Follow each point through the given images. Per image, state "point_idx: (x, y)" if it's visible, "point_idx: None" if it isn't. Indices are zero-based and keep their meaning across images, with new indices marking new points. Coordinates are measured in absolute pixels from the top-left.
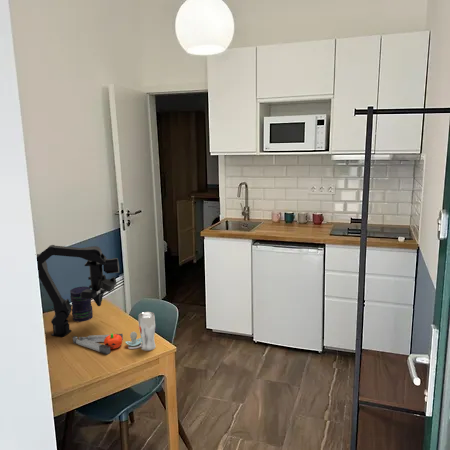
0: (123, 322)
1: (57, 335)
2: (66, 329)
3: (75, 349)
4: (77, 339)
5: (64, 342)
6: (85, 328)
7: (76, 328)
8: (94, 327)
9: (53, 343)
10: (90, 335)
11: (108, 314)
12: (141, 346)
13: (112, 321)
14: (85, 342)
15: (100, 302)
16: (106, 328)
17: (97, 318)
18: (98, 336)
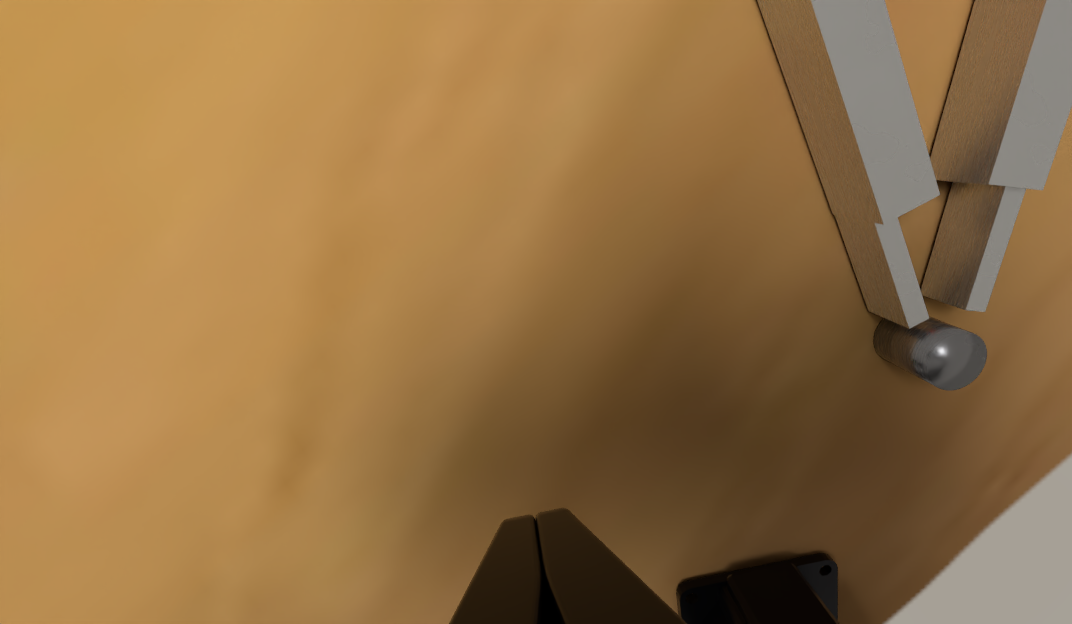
0: (126, 159)
1: (834, 615)
2: (813, 605)
3: (1050, 204)
4: (979, 296)
5: (922, 447)
6: (552, 505)
7: None
8: (481, 431)
9: (964, 526)
10: (873, 193)
11: (62, 558)
12: None
13: (204, 346)
14: (1059, 109)
15: (542, 597)
16: (432, 262)
17: (251, 588)
18: (875, 40)
